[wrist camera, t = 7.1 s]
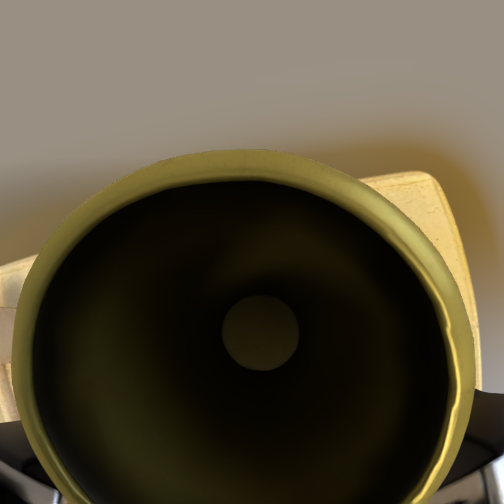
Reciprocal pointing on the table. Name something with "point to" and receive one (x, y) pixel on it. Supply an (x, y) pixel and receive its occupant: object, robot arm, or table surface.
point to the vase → (242, 341)
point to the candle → (6, 333)
